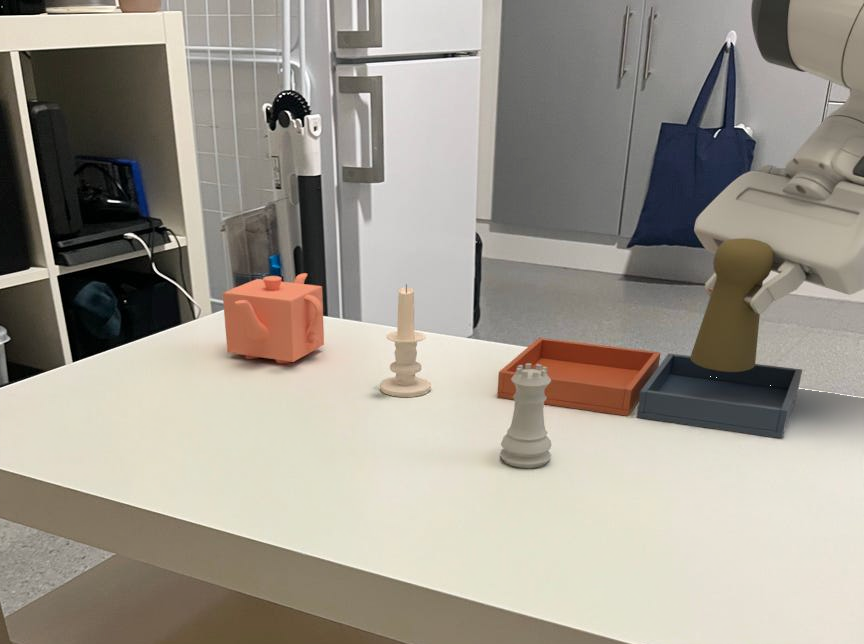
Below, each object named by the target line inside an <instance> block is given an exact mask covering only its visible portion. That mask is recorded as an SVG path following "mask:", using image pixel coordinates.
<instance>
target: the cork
mask: <svg viewBox="0 0 864 644" xmlns="http://www.w3.org/2000/svg"><path fill="white" fill-rule="evenodd" d="M773 263H774V254H773V251H772V248H771V247H770V246H769V245H768V244H767V243H764V242H761V241H758V240H754V239H744V238H741V239H731V240H727V241H725V242H723V243H722V244H721V245H720V246H719V248H718V249H717V251H716V254H715V253H714V257H713V262H712V264H713V272H714V273H716V276H717V278H716V281H715V284H714V287H713V290H712V293H711V296H709V300H708V303H707V306H706V308H705V311H704V314H703V318H702V321H701V324H700V327H699V330H698V333H697V336H696V338H695V342H694V345H693V348H692V351H691V354H690V356H691V357H690V359H691V361H692V362H694V363H695V364H696V365H699V366H701V367H704V368H708V369H712V370H717V371H726V372H739V371H746V370H750V369H752V368H754V366H755V364H756V361H757V360H756V359H757V351H758V339H759V327H760V317H761V314H758V313H755V312H753V311H751V310H749V309H748V307H747V306H746V305H745V304H744V302H743V298H744V296H745V295H746V294H747V293H749V292H750V290H751V289H752V288H753V287H754V286H755V284H756V285H759V286H762V285H763V284H764V281H765V280H766V279H767V278H768V277H769V275H770V273H771V272H772V271H771V269H772V267H773Z"/></svg>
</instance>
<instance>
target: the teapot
mask: <svg viewBox="0 0 864 644" xmlns="http://www.w3.org/2000/svg"><path fill="white" fill-rule="evenodd" d="M308 276H309V275H308V273H306V272H303V273H300V274H298V275H297V276H295V278H294V280H293V282H289V281H282V280H283V279H282V277H281V276H278V275H268V276H265V277H262V279H261V278H256V279H253V280H251V281H249V282H246V283H243V284H241V285H238V286H235V287H233V288H231V289H229V290H226V291H224V292H223V293H222V303H223V316H224V325H225V326H224V327H225V338H226V349H227V351H226V352H227V353H228V354H236V355H242V356H245V359H247V360H256V359H260V358H264V359H268V360H269V359H270V360H275V363H277V364H289V363H291V362H292V363H294V362H296V361H297V360H299V359H301V358H303V357H305V356H306V355H308V354H310V353H312V352H314V351H316V350H318V349H319V348H322V347H323V346H324V345H325V330H324V329H325V328H324V300H323V286H321V285H315V284H305V280H306V279H307V277H308Z"/></svg>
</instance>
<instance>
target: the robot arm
mask: <svg viewBox="0 0 864 644" xmlns="http://www.w3.org/2000/svg"><path fill="white" fill-rule="evenodd" d="M750 7H751V10H750V11H751V12H750V15H751V26H752V30H753V36H754V39H755V43H756V46H757V48H758V50H759V53H760V55H761V57H762V59H763V60H764V61H765V62H767V63H769V64H772V65H776V66H779V67H783V68H786V69H791V70H794V71H798V72H802V73H809V74H810V75H813V76H816V77H818V78H821V79H824V80H826V81H828V82H830V83H834V84H836V85H838V86H841V87H843V88H846V89H848V90H849V96H848V97H847V99H846V100H845V101H844V103H843V104H842V105H840V107H838V108H837V109H835V110H834V111H832V112H831V113H830V114H829V115H827V116H826V117H825V118H824V119H823V120H822V122H821V123H820V124H819V125H818V126H817V128H815V129H814V131H813V132H812V133H811V135H810V136H808V138H807V140H805V142H804V143H803V144H801V146H800V147H799V149H798V150H797V151H796V152H795V153H794V154H793V155H792V157H791V158H790V159H789V160H788V161H787V163H786V164H785V167H777V166H775V165H773V164H772V165H771V164H765V165H763V166H761V168H758V169H754V170H753V171H747V172H745V173H743V174H741V175H740V176H739V177H737V178H735V179H734V180H733V181H732V182H731V183H730V184H729V185H727V186H726V187H725V188H724V189H723V190H722V191H721V192H720V193H719V194H718V195H717V196H716V197H715V198H714V199H713V200H712V201H711V202H710V203H709V204H708V205H707V206H706V207H705V208H704V209H703V210H702V211H701V212H700V213H699V215H698V216H697V217H696V219H695V222H694V228H693V231H694V234H695V235H696V237H697V238H698V240H699V242H700V243H701V245H702V247H703V248H704V249H705V250H706V252H707V251H708V252H709V253H712V254H714V255H715V254H716V251H717V249H718V248H719V246H720V245H721V244H722V243H723V242H725V241H727V240H731V239H741V238H744V239H754V240H758V241H761V242H764V243H767V244H768V245H769V246H770V247H771V248H772V251H773V254H774V263H773V267H772V269H771V272H774V273H777V275H775V276H774V277H772V278H770V279H769V280H767V281H766V282H765V283H763V285H762V286H759V285H756V284H755V286H754V287H753V288H752V289H751V290H750V292H749V293H747V294H746V295H745V296H744V298H743V302H744V304H745V305H746V306H747V307H748V309H749V310H751V311H753V312H755V313H758V314H760V315H763V314H764V313H765V312H766V310H767V309H769V307H770V306H771V305H772V304H773V303H774V301H777V300H779V299H781V298H783V297H785V296H787V295H789V294H791V293H793V292H795V291H797V290H798V289H799V288H800V286H801V285H802V284H803V283H804V282H806V283H809V284H813V285H815V286H818V287H822V288H826V289H829V290H832V291H835V292H839V293H842V294H844V295H848V296H849V295H853V294H856V293H858V292H861V291H862V290H864V0H752V1H751V6H750ZM716 278H717V276H716V273H715V272H714V273H713V274H712V275H711V276H710V277H709V278H708V280H707V281H706V282H705V284H704V290H705V292H706V293H707V294H708V296H709V297H710V296H711V293H712V290H713V287H714V284H715V281H716Z"/></svg>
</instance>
